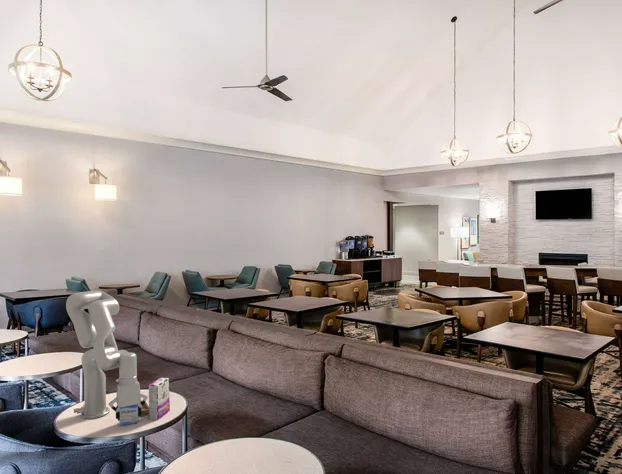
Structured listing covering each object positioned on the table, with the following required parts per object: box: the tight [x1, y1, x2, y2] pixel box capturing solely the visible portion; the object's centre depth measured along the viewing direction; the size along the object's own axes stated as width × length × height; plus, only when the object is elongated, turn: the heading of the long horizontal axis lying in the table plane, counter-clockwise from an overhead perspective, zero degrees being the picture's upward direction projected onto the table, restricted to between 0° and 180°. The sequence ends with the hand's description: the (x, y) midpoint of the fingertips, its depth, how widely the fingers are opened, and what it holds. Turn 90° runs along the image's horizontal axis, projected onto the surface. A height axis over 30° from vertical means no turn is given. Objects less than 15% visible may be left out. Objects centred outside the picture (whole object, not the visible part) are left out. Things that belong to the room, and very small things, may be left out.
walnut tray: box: [138, 400, 149, 418], centre depth 223 cm, size 10×14×2 cm
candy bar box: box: [148, 377, 171, 421], centre depth 219 cm, size 11×5×16 cm, turn 168°
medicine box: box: [118, 404, 139, 427], centre depth 210 cm, size 8×4×9 cm, turn 115°
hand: (128, 417), depth 210 cm, fingers closed on medicine box, 8 cm apart
